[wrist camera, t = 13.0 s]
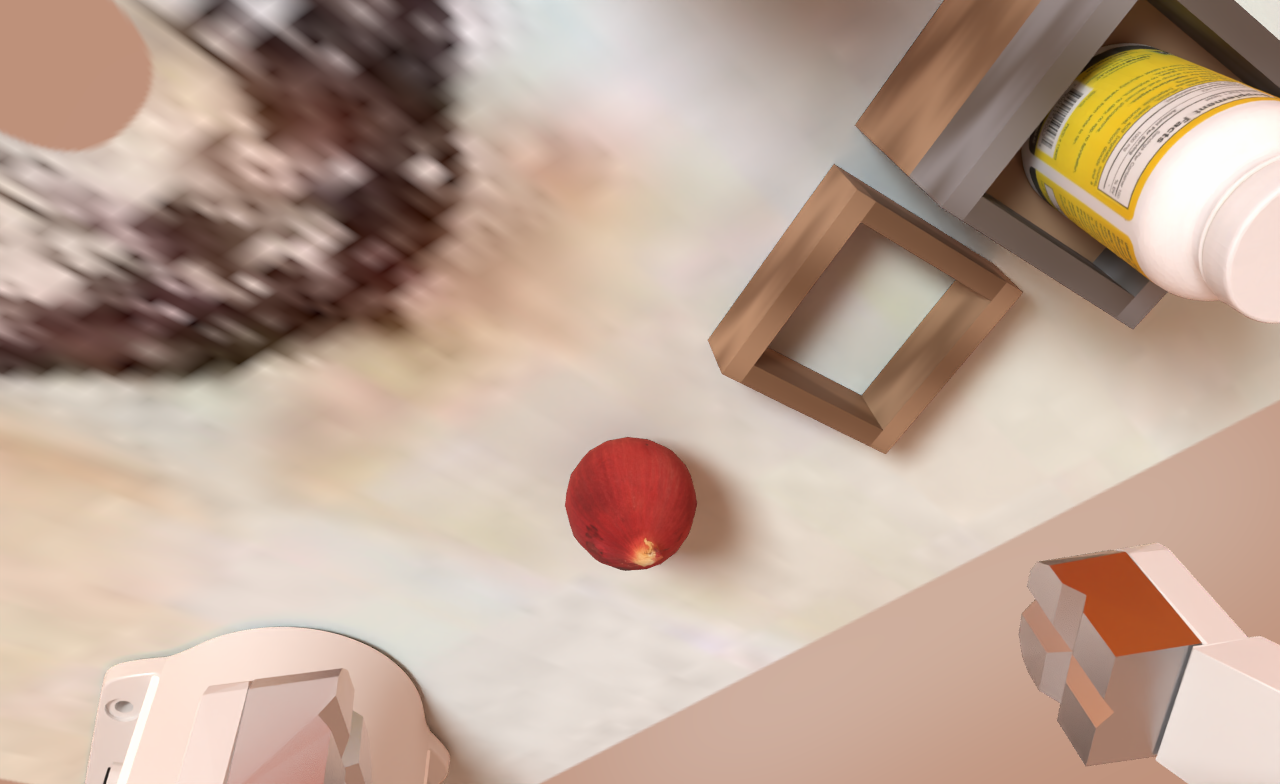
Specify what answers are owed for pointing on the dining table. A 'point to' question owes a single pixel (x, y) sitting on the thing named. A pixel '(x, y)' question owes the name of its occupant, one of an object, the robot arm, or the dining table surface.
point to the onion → (631, 503)
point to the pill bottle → (1169, 174)
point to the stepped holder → (971, 191)
